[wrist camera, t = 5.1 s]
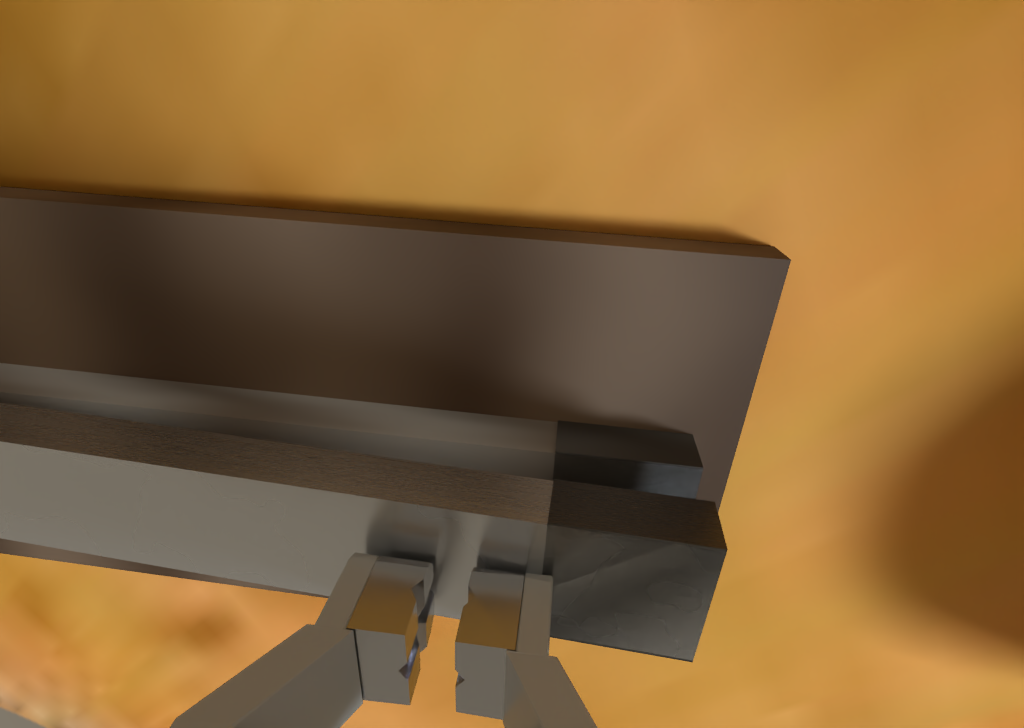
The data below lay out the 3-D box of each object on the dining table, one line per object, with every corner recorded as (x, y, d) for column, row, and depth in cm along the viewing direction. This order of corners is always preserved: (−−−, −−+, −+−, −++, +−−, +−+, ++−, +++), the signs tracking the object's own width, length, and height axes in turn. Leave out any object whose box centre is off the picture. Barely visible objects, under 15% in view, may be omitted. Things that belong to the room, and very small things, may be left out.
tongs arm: (-157, 469, 14) (-221, 500, 13) (-220, 369, 13) (-297, 394, 11) (684, 609, 11) (692, 662, 10) (714, 501, 10) (727, 549, 9)
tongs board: (-198, 499, 18) (-374, 591, 15) (-438, 152, 13) (-782, 172, 10) (673, 615, 16) (698, 755, 13) (774, 246, 11) (859, 314, 8)
